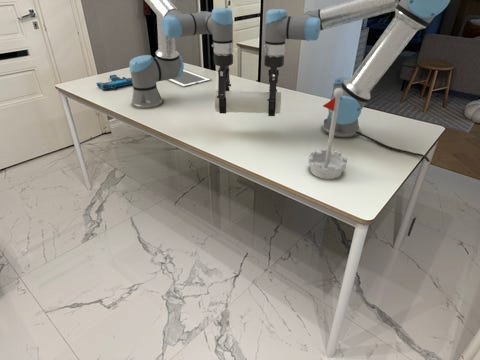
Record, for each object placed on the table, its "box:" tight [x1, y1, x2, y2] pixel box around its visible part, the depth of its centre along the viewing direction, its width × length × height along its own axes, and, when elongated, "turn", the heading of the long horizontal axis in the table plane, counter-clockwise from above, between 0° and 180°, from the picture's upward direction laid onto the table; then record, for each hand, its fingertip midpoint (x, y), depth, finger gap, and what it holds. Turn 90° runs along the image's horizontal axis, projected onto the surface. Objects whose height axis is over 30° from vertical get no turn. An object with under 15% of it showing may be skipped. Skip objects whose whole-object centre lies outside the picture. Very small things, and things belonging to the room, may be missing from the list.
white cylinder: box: [214, 90, 282, 115], centre depth 139 cm, size 26×8×8 cm, turn 85°
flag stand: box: [307, 88, 348, 180], centre depth 113 cm, size 13×13×30 cm
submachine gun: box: [95, 74, 133, 91], centre depth 209 cm, size 34×4×25 cm
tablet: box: [168, 68, 212, 88], centre depth 217 cm, size 32×20×1 cm, turn 41°
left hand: (224, 107), depth 142 cm, fingers open, 12 cm apart
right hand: (271, 111), depth 141 cm, fingers closed on white cylinder, 8 cm apart
